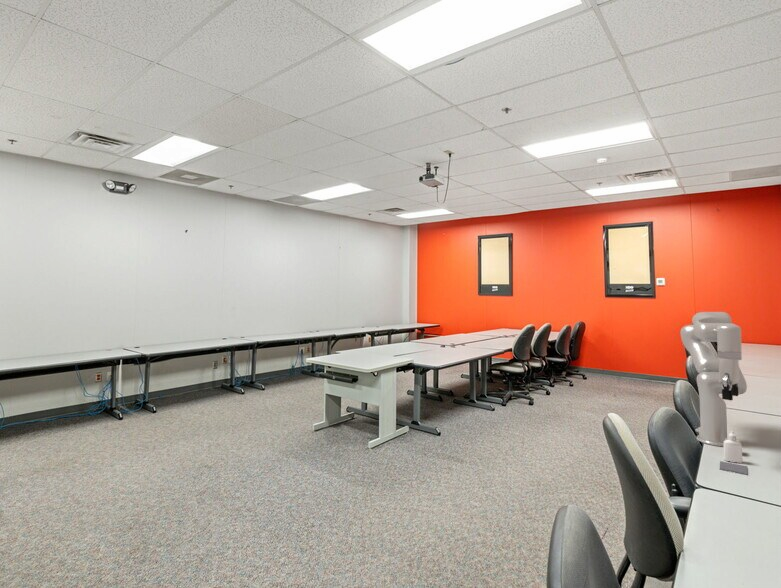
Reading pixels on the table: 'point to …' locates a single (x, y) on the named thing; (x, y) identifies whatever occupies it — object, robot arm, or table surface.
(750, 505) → the table surface
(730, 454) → the eye dropper bottle
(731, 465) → the mat
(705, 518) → the table surface
